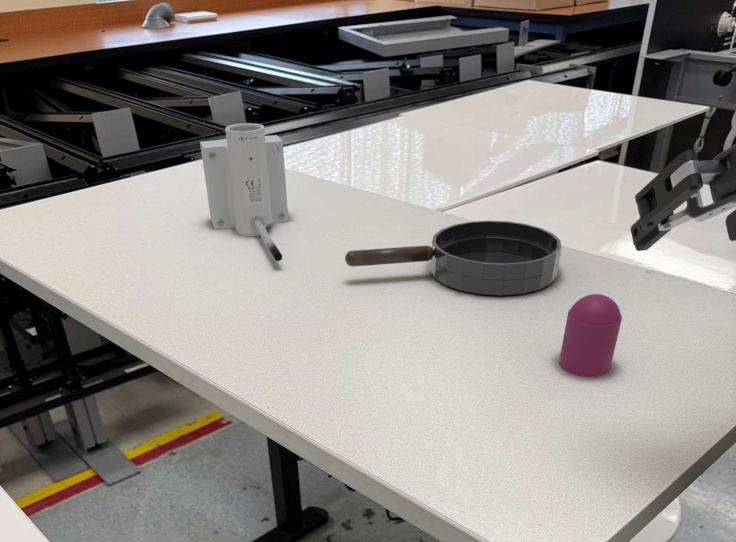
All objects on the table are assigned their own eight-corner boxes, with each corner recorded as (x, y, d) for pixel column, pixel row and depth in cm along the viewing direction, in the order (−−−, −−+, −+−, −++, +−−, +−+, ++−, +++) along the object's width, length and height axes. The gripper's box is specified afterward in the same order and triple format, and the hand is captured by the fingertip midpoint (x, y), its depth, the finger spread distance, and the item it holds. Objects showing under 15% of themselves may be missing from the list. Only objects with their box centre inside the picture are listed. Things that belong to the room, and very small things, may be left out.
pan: (531, 248, 106) (535, 217, 103) (574, 293, 93) (581, 259, 90) (419, 256, 104) (420, 224, 101) (447, 303, 91) (449, 268, 88)
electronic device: (282, 213, 121) (274, 113, 111) (321, 267, 102) (316, 152, 92) (210, 221, 118) (196, 120, 109) (236, 278, 99) (222, 161, 90)
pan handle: (431, 257, 97) (432, 242, 96) (435, 262, 95) (435, 247, 94) (344, 263, 96) (343, 248, 94) (346, 269, 94) (345, 254, 93)
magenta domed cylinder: (597, 353, 80) (612, 284, 75) (618, 376, 76) (635, 304, 71) (551, 357, 80) (563, 287, 74) (569, 381, 75) (583, 309, 70)
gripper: (933, 38, 44) (750, 185, 60) (730, 49, 42) (595, 199, 58) (963, 151, 44) (770, 270, 59) (758, 169, 41) (614, 287, 57)
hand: (684, 235), depth 59 cm, fingers open, 8 cm apart
